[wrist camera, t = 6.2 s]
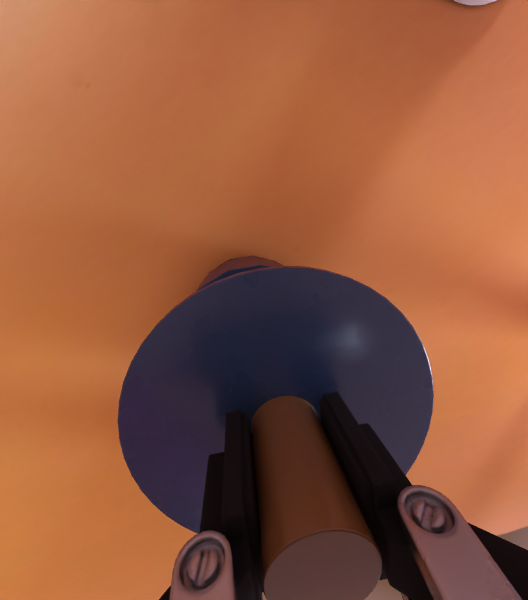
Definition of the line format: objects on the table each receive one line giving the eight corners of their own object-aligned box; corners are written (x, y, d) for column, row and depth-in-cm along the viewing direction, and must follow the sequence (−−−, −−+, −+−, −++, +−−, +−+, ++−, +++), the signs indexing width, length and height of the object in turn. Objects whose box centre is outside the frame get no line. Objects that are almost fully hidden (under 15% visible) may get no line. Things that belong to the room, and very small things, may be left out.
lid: (59, 375, 11) (-162, 553, 5) (340, 198, 10) (488, 151, 4) (236, 561, 14) (237, 802, 8) (455, 435, 13) (628, 593, 8)
